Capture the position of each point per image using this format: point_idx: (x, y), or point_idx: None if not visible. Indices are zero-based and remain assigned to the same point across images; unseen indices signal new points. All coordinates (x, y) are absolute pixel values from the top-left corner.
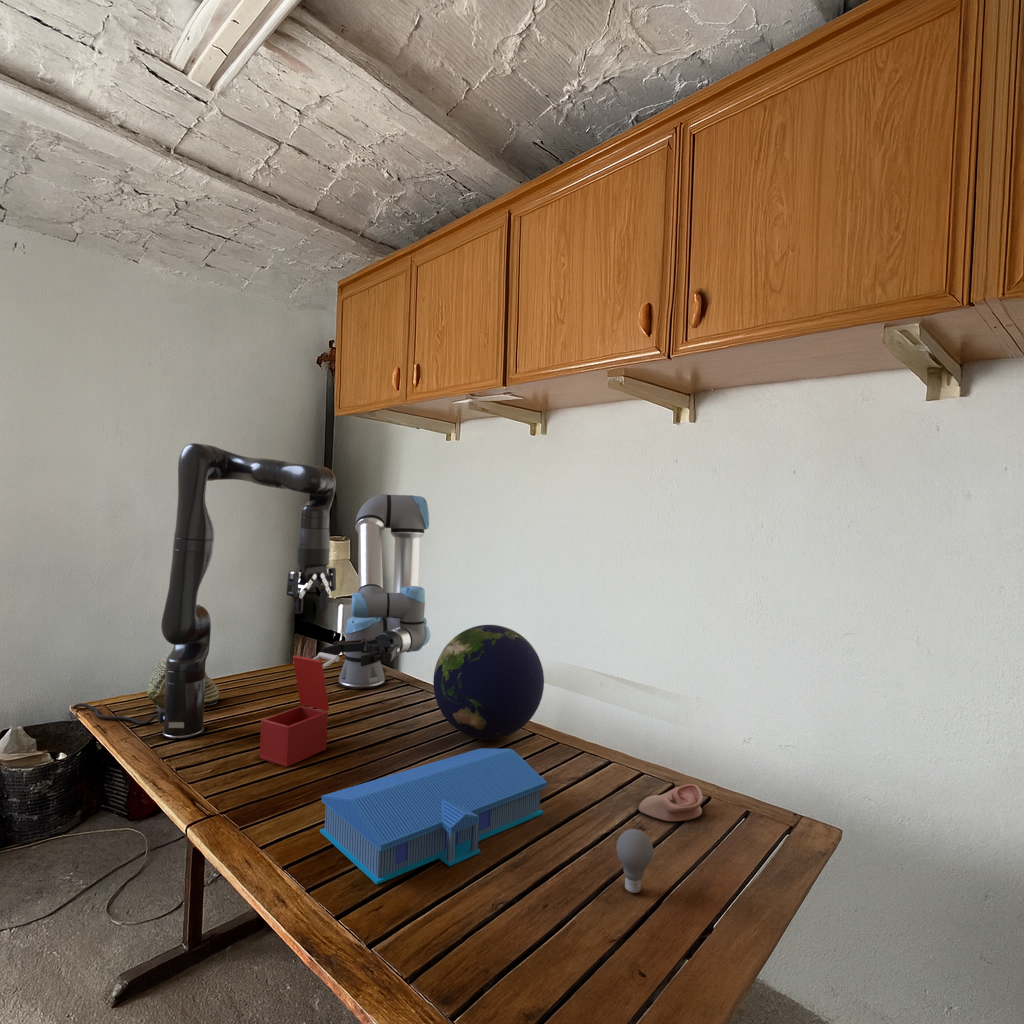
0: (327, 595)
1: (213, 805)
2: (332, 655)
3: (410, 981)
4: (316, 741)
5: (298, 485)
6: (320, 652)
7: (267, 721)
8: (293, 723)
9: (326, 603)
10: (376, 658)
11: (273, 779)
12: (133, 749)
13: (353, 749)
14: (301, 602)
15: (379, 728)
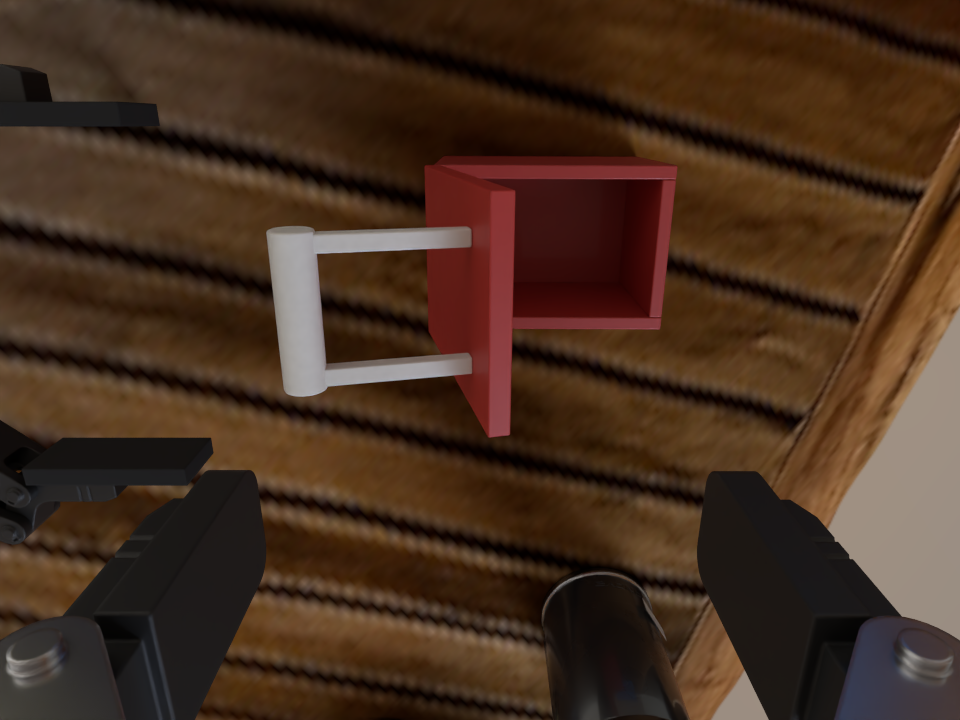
0: (128, 600)
1: (955, 132)
2: (298, 272)
3: None
4: (499, 158)
5: None
6: (302, 388)
7: (663, 293)
8: None
9: (210, 509)
10: (10, 65)
11: (732, 119)
12: None
13: (385, 62)
14: (817, 566)
15: (159, 127)
